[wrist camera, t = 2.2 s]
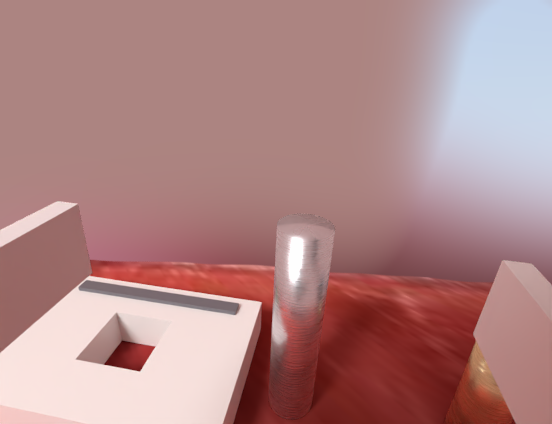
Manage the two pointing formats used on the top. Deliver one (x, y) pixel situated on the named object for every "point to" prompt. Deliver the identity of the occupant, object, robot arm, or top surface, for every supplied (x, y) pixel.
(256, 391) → the top surface
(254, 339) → the hole plate
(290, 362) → the long pin
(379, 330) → the top surface
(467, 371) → the short pin
